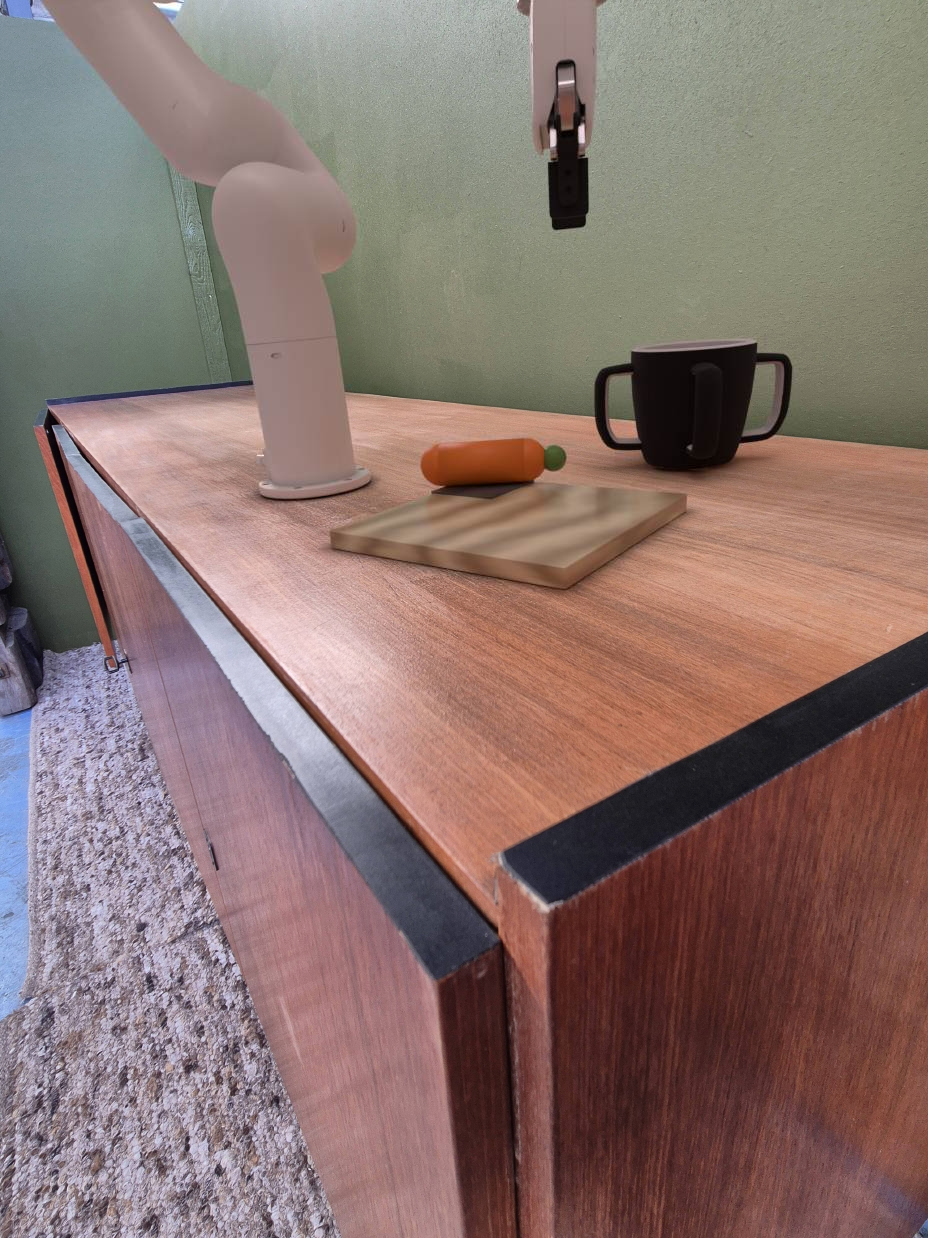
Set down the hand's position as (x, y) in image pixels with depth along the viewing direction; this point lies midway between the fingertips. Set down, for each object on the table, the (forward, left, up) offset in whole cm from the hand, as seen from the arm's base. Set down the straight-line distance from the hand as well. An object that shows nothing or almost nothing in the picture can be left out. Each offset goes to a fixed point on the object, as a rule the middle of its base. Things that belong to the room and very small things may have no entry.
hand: (569, 222), depth 63 cm
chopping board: (+3, -16, -23) cm, 28 cm away
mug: (+7, +12, -24) cm, 27 cm away
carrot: (-5, -9, -22) cm, 24 cm away
